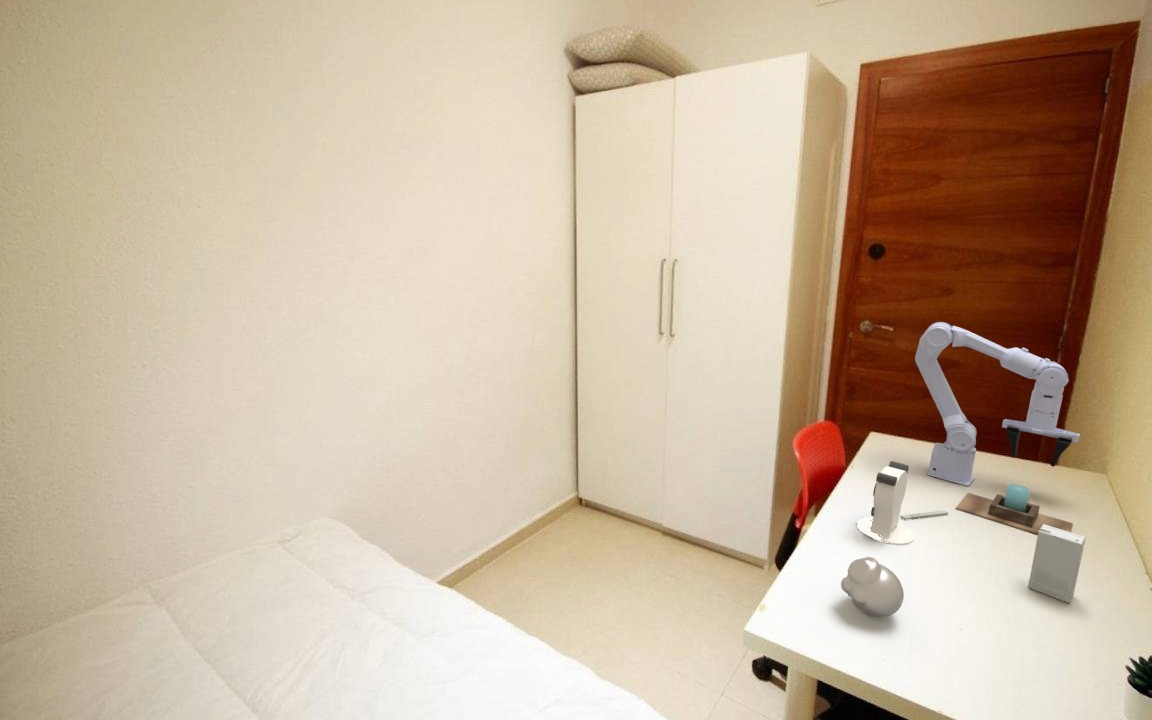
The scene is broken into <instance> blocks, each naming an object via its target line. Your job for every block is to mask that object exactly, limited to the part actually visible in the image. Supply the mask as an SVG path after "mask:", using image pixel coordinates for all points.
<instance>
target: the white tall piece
mask: <svg viewBox="0 0 1152 720" xmlns="http://www.w3.org/2000/svg"><path fill="white" fill-rule="evenodd" d="M909 468H910V467H909V464H904V463H901V462H897V461H893V460H890V461H889V464H888V465H887V466H886V465H885V467H883V469H881V472H877V474H876V478H875V479H876V480H875V481H876V482H875V483H874V489H873V506H872V507H871V511H870V517H873V519H872V520H873V521H872V520H870V521H872V526H871V528H870V527H869V528H870V529H871V532H873V533H876V534H878V536H879V537H881V538H882V539H881V541H883V542H888V543H893V544H906V545H909V544H908V543H910V544H911V542H912V541H913V540H915V534H914V533H913V531H912V530H911V529H910V528H908V527H906V526H905V525H903V524H901V523H900V522H899V519H900V513H901V509H902V504H903V501H904V498H905V495H906V491H907V484H908V473H909ZM891 533H892V534H891ZM893 534H894V535H893ZM880 535H881V536H880ZM882 536H883V537H882ZM883 542H882V543H883ZM913 542H914V541H913ZM913 542H912V543H913ZM893 544H892V545H893Z"/></svg>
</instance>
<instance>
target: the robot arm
mask: <svg viewBox="0 0 1152 720" xmlns="http://www.w3.org/2000/svg"><path fill="white" fill-rule="evenodd" d="M951 343H952V346H951V347H952V348H955V347H967V348H970V349H973V350H974V351H978V352H979V353H982V354H985V355H987V356H990V357H992V358H993V359H997V360H999V363H1000V366H1001V367H1002V368H1004V369H1006V370H1008V371H1011V372H1014V373H1015V374H1018V375H1019V376H1021V377H1024V378H1027V379H1031V380H1036V381H1035V383H1034V388H1033V390H1032V391H1031V396H1030V401H1029V406H1028V410H1027V414H1026V420H1025V421H1021V420H1020V421H1019V420H1013V419H1008V418H1005V419H1003V421H1002V426H1001V428H1005V429H1006V430H1005V433H1006V436H1007V439H1008V441H1009V445H1010V449H1011V457H1012V458H1015V457H1016V456H1017V455H1018V449H1019V440H1020V438H1021V434H1022V432H1026V433H1030V434H1034V435H1035V434H1036V435H1041V436H1046V437H1050V438H1056V439H1057V440H1056V441H1055V445H1054V447H1055V448H1054V453H1053V456H1052V458H1051V461H1050V467H1053V468H1054V467H1056V464H1057V461H1058V459H1059V458H1060V457H1061V456H1062V454H1063V453H1064V452H1065V451H1066V449H1067V448H1068V447H1070V445H1071V444H1072V443H1076V444H1077V443H1079V440H1080V436H1081V434H1080V433H1077V432H1073V431H1069V430H1066V429H1062V428H1057V425H1058V419H1059V415H1060V410H1061V406H1062V401H1063V397H1064V395H1063V393H1064V392H1065V391H1064V390H1065V387H1066V386H1067V385H1068V383H1069V381H1070V379H1069V374H1068V372H1067V370H1066V369H1065V368H1064V367H1063V366H1062V365H1060V364H1059V363H1058V362H1056V361H1051V359H1049V358H1047V357H1045V358H1043V357H1040V356H1038V355H1035V354H1034V353H1031V352H1029V349H1027V348H1026V347H1022V348H1019V347H1011V348H1006V347H1003V346H1002V345H1000V344H997V343H996V342H993V341H991V340H989V339H986V338H984V337H983V336H980V335H978V334H976V333H973V332H971V331H969V330H967V329H965V328H962V327H959V326H956V325H951V324H949V323H947V322H944V321H937V322H933V323H932V324H931V325H929V326H928V327H927V329H926V330H925V332H924V333H923V334H922V335H921V337H920V338H919V343H918V346H917V350H916V353H915V356H914V361H915V364H916V366H917V367H918V370H919V372H920V374H921V376H922V378H923V380H924V383H925V384H926V386H927V389H928V390H929V391H928V392H929V393H930V395H931V397H932V400H933V401H934V403H935V406H936V408H937V410H938V412H939V413H940V416H941V419H942V422H943V426H944V428H945V431H946V434H947V435H946V440H945V441H944V442H943V443H941V442H936V443H934V445H933V448H932V451H931V457H930V461H929V462H930V463H929V467H928V468H929V469H928V472H927V475H928V476H930V477H934V478H938V479H941V480H945V481H948V482H952V483H955V484H959V485H963V486H966V487H969V486H970V484H971V483H972V482H973V481H974V480H975V479H976V476H974V475H973V469H974V463H975V457H976V453H977V448H976V447H975V446H976V443H977V440H976V439H977V438H976V437H977V433H978V431H977V428H976V427H975V425H973V424H972V423H971V422H970V421H969V420H968V419H967V416H966V415H965V414H964V412H963V411H962V409H961V407H960V406H959V402H958V401H957V399H956V397H955V395H954V393H953V391H952V389H951V386H950V385H949V382H948V381H947V378H946V376H945V374H944V372H943V370H942V368H941V365H940V364H939V361H938V358H939V356H940V354H941V352H942V351H943V350H945V348H947V347H948V346H949V345H950V344H951Z"/></svg>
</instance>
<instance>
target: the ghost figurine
mask: <svg viewBox="0 0 1152 720" xmlns="http://www.w3.org/2000/svg"><path fill="white" fill-rule="evenodd" d="M840 587H841V589H842V591H844V593H845V594H847V596H848V597H850V598H851V603H852V604H853V605H854V606H855V607H856V608H857V609H858V611H860V612H862V613H863V614H866V615H868V616H869V617H870V616H871V617H874V618H888V617H891V616H892V615H894V614H896V613H897V612H898V611H899V610H900V609H901V607H902V606H903V603H904V598H905V597H904V596H905V595H904V588H903V585H902V582H901V581H900V579H899V578H898V576H897V575H896V574H895V573H894V572H893V571H892V570H891V569H890V568H888V567H886V566H884V565H882V564H881V563H879V561H878V560H877V559H876V558H874V557H871V556H866V557H862V558H858V559H857V558H856V559H855V560H853V561H852V562H851V563H850V564H849V566H848V569H847V574H846V577H844V578H842V579H841V582H840Z"/></svg>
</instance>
